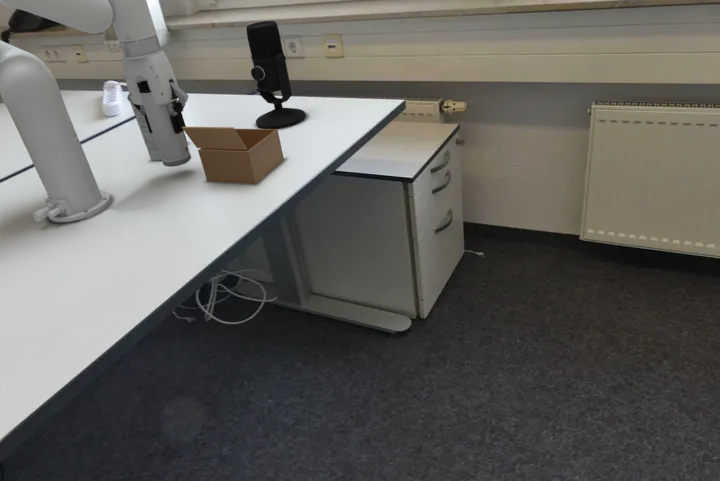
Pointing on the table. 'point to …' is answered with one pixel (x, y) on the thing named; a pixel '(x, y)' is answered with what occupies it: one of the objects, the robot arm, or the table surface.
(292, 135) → the table surface
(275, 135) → the carton
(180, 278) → the table surface
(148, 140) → the candy bar box
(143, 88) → the travel mug
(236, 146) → the front flap
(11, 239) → the table surface
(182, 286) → the table surface
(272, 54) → the microphone
